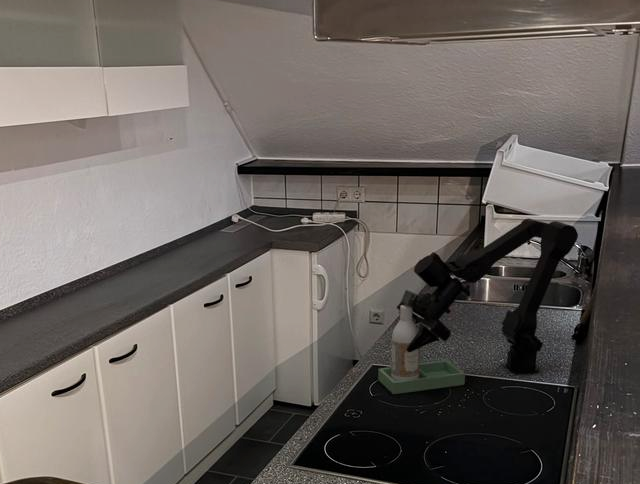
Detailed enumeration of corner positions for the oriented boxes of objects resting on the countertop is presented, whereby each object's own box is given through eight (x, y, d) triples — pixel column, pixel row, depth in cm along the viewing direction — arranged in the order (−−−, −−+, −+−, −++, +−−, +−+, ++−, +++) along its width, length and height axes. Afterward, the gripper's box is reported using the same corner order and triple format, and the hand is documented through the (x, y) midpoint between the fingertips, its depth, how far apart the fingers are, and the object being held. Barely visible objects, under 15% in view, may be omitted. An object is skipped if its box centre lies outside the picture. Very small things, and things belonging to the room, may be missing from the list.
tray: (446, 370, 202) (447, 359, 201) (464, 384, 193) (465, 373, 192) (378, 379, 198) (378, 368, 197) (393, 394, 189) (393, 382, 188)
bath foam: (399, 388, 190) (401, 311, 183) (386, 378, 196) (387, 304, 189) (424, 383, 192) (426, 307, 185) (410, 374, 198) (411, 300, 191)
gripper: (404, 270, 194) (364, 317, 195) (441, 288, 177) (397, 339, 178) (430, 296, 199) (391, 342, 200) (469, 316, 182) (426, 365, 183)
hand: (400, 346), depth 190 cm, fingers closed on bath foam, 7 cm apart
